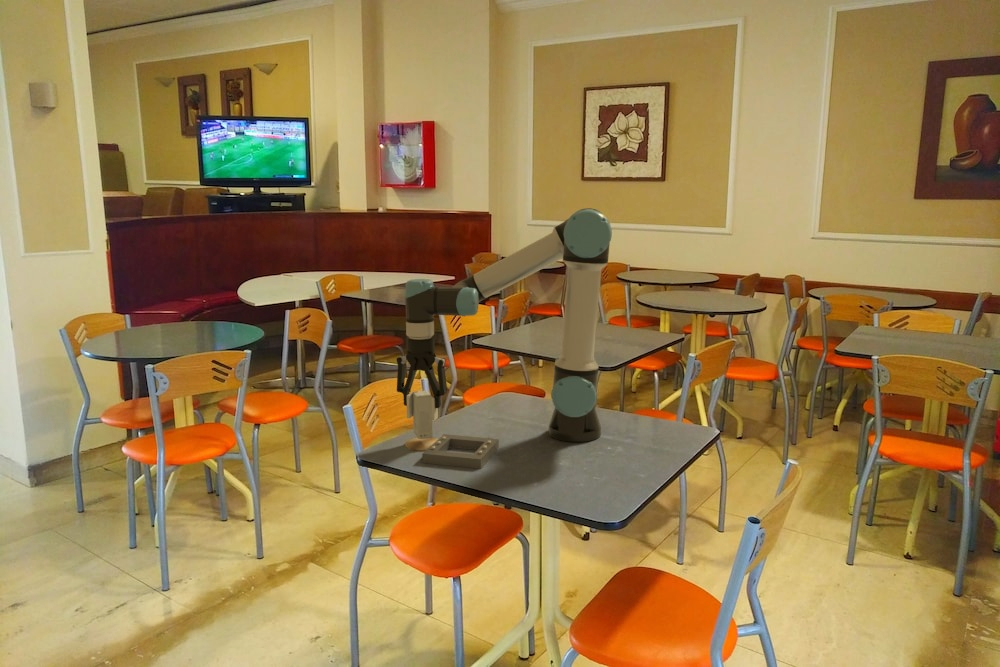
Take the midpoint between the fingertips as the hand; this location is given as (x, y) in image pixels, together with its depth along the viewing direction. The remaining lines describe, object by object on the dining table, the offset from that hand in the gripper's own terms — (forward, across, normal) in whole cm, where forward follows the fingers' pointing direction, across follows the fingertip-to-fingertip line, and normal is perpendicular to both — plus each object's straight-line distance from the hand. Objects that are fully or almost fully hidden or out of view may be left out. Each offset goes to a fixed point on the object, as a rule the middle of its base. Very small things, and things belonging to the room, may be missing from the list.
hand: (422, 417), depth 206 cm
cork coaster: (+8, 0, 0) cm, 8 cm away
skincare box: (+5, 0, 0) cm, 5 cm away
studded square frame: (+8, -13, +5) cm, 16 cm away
